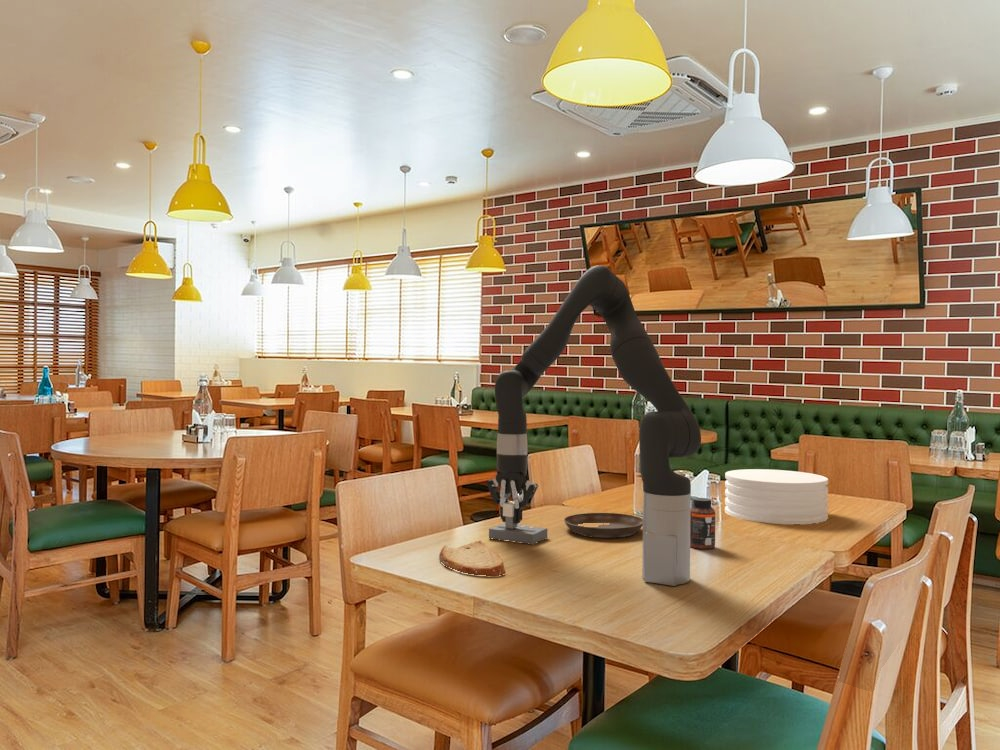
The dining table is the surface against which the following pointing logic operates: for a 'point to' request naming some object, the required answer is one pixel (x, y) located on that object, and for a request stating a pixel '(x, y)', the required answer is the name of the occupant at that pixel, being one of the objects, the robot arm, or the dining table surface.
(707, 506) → the supplement bottle
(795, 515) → the plate stack
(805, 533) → the dining table surface
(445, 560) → the bread slice
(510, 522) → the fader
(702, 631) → the dining table surface
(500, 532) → the console panel
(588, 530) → the plant saucer
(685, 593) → the dining table surface
